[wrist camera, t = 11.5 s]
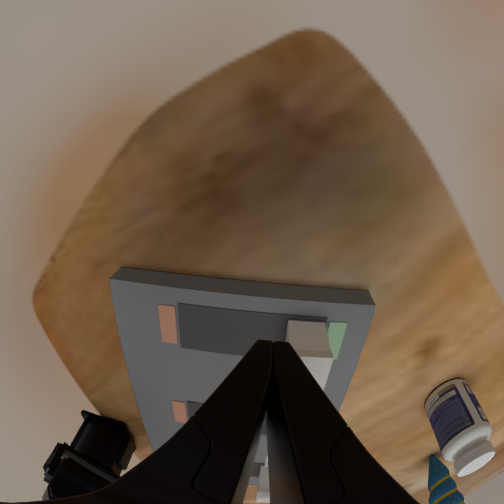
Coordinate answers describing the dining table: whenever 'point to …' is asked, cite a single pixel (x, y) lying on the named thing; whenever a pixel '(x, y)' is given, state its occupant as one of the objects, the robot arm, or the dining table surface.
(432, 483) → the ornament
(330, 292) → the breaker panel
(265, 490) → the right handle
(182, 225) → the dining table surface
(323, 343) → the handle
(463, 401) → the pill bottle
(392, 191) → the dining table surface
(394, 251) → the dining table surface
